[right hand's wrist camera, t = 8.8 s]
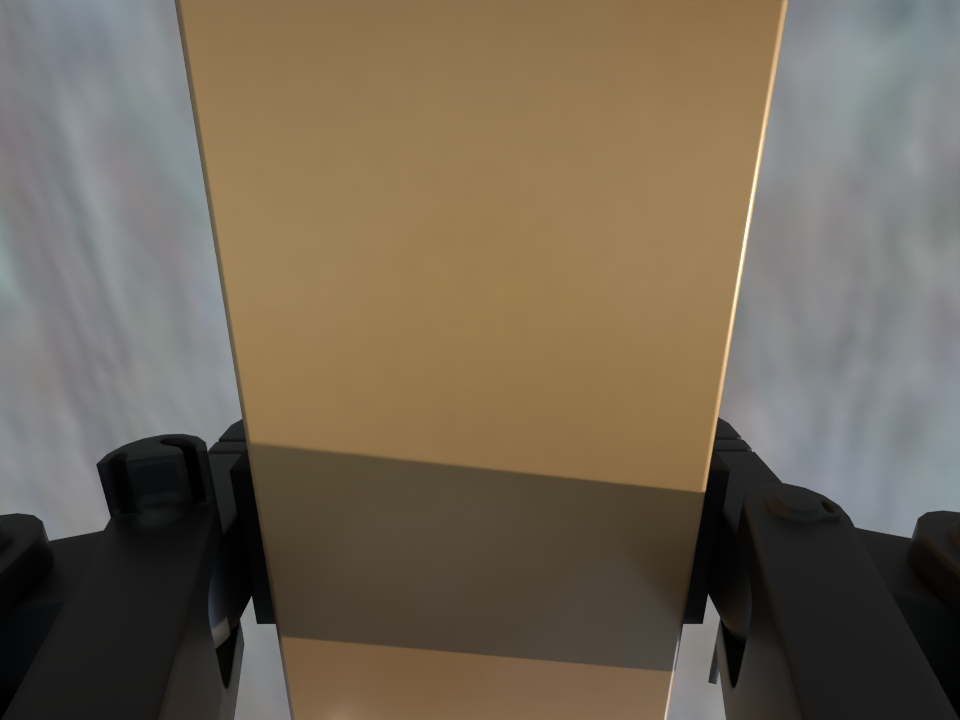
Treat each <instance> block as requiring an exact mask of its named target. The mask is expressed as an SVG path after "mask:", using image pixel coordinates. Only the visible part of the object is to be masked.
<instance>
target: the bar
mask: <svg viewBox="0 0 960 720" xmlns="http://www.w3.org/2000/svg"><path fill="white" fill-rule="evenodd" d="M787 2H788V0H175V5H176V11H177V17H178V24H179V30H180V36H181V42H182V48H183V54H184V61H185V67H186V73H187V79H188V85H189V91H190V98H191V104H192V110H193V116H194V122H195V129H196V135H197V141H198V147H199V153H200V159H201V166H202V172H203V178H204V184H205V190H206V196H207V203H208V209H209V215H210V221H211V227H212V233H213V240H214V246H215V252H216V258H217V264H218V270H219V277H220V283H221V289H222V295H223V301H224V307H225V314H226V320H227V326H228V332H229V338H230V344H231V351H232V357H233V363H234V369H235V375H236V381H237V388H238V394H239V400H240V406H241V412H242V418H243V425H244V431H245V437H246V443H247V449H248V455H249V462H250V468H251V474H252V480H253V486H254V492H255V499H256V505H257V511H258V517H259V523H260V529H261V536H262V542H263V548H264V554H265V560H266V567H267V573H268V579H269V585H270V591H271V597H272V604H273V610H274V616H275V622H276V628H277V634H278V641H279V647H280V653H281V659H282V665H283V671H284V678H285V684H286V690H287V696H288V702H289V708H290V715H291V720H667V717H668V711H669V705H670V699H671V693H672V687H673V681H674V675H675V669H676V663H677V657H678V652H679V646H680V640H681V634H682V628H683V622H684V616H685V610H686V604H687V598H688V592H689V586H690V580H691V574H692V568H693V562H694V556H695V550H696V544H697V538H698V532H699V526H700V521H701V515H702V509H703V503H704V497H705V491H706V485H707V479H708V473H709V467H710V461H711V455H712V449H713V443H714V437H715V431H716V425H717V419H718V413H719V407H720V401H721V395H722V390H723V384H724V378H725V372H726V366H727V360H728V354H729V348H730V342H731V336H732V330H733V324H734V318H735V312H736V306H737V300H738V294H739V288H740V282H741V276H742V270H743V264H744V258H745V253H746V247H747V241H748V235H749V229H750V223H751V217H752V211H753V205H754V199H755V193H756V187H757V181H758V175H759V169H760V163H761V157H762V151H763V145H764V139H765V133H766V127H767V122H768V116H769V110H770V104H771V98H772V92H773V86H774V80H775V74H776V68H777V62H778V56H779V50H780V44H781V38H782V32H783V26H784V20H785V14H786V8H787Z"/></svg>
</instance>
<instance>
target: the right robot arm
mask: <svg viewBox="0 0 960 720" xmlns="http://www.w3.org/2000/svg"><path fill="white" fill-rule="evenodd" d="M96 465H97V469H98V472H99V476H100V480H101V483H102V487H103V490H104V494H105V498H106V501H107V505H108V509H109V512H110V516H111V519H110V520H109V522H108V524H107V526H106V528H105V530H103V531H99V532H95V533H89V534H84V535H79V536H73V537H68V538H63V539H58V540H52V541H49V540H48V537H47V534H46V531H45V528H44V525H43V522H42V521H41V520H40V519H38V518H37V517H35V516H34V515H27V514H18V513H16V514H8V515H0V720H234V716H235V708H236V701H237V694H238V686H239V679H240V672H241V664H242V657H243V650H244V639H243V632H242V627H241V622H240V618H241V616H242V614H243V612H244V610H245V608H246V606H247V604H248V602H249V600H250V598H251V596H252V599H253V604H254V610H255V615H256V621H257V624H276V622H275V616H274V610H273V604H272V597H271V591H270V585H269V579H268V573H267V567H266V560H265V554H264V548H263V542H262V536H261V529H260V523H259V517H258V511H257V505H256V499H255V492H254V486H253V480H252V474H251V468H250V462H249V455H248V449H247V443H246V437H245V431H244V425H243V419H241V420H240V421H238V422H236V423H234V424H233V425H231V426H230V427H229V428H228V429H227V431H226V432H225V433H224V434H223V435H222V436H221V437H220V438H219V442H216V443H215V444H214V445H213V446H212V447H211V449H210V450H209V451H207V446H206V442H204V441H203V440H202V439H200V438H199V437H197V436H191V435H186V434H168V435H160V436H154V437H149V438H144V439H141V440H138V441H135V442H132V443H129V444H126V445H124V446H122V447H120V448H118V449H116V450H114V451H112V452H111V453H109V454H107V455H106V456H105V457H104V458H103V459H102V460H101V461H99V462H98V463H97V464H96ZM708 594H709V596H710V598H711V600H712V602H713V604H714V606H715V608H716V610H717V612H718V613H719V615H720V622H719V627H718V632H717V637H716V643H715V648H714V653H713V658H712V663H711V668H710V675H709V683H713V684H717V679H718V674H719V672H720V678H721V685H722V692H723V700H724V707H725V714H726V720H960V513H959V512H951V511H935V512H927V513H925V514H924V515H923V516H921V517H920V518H918V520H917V523H916V526H915V530H914V533H913V536H912V539H911V538H906V537H901V536H895V535H890V534H885V533H879V532H874V531H869V530H864V529H859V528H855V527H854V525H853V523H852V521H851V519H850V517H849V516H848V515H847V514H846V513H845V512H844V510H843V509H842V508H841V507H840V506H839V505H838V504H836V503H834V502H833V501H831V500H830V499H828V498H827V497H825V496H823V495H821V494H819V493H816V492H814V491H811V490H809V489H806V488H803V487H799V486H794V485H790V484H785V483H782V482H781V481H780V480H779V479H778V478H777V476H776V475H775V474H774V473H773V472H772V471H771V470H770V469H769V468H768V466H767V465H766V464H765V463H764V462H763V461H762V460H761V459H760V457H759V456H758V455H757V454H756V453H755V452H752V449H751V447H750V446H749V445H748V444H747V443H746V442H745V441H744V440H741V436H740V435H739V434H738V433H737V432H736V431H735V430H734V429H733V427H732V426H731V425H730V424H729V423H727V422H726V421H724V420H722V419H720V418H718V419H717V425H716V431H715V437H714V443H713V449H712V455H711V461H710V467H709V473H708V479H707V485H706V491H705V497H704V503H703V509H702V515H701V521H700V526H699V532H698V538H697V544H696V550H695V556H694V562H693V568H692V574H691V580H690V586H689V592H688V598H687V604H686V610H685V616H684V622H683V624H703V619H704V613H705V608H706V602H707V597H708Z"/></svg>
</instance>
